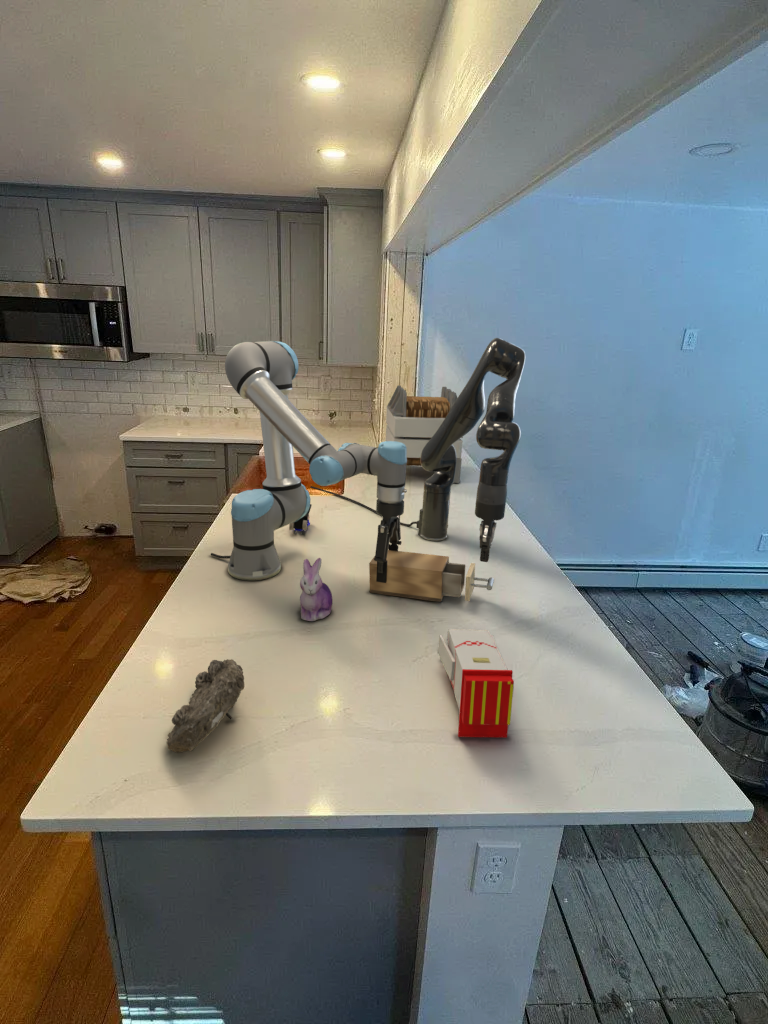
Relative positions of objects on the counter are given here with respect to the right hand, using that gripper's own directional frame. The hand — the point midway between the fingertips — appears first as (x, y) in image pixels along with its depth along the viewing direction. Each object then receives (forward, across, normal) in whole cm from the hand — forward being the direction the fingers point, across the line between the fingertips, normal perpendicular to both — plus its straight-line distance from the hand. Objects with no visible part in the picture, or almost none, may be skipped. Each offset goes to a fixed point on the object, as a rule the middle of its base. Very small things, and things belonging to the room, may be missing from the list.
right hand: (484, 560), depth 151 cm
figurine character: (+13, +30, +67) cm, 75 cm away
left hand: (+9, 0, +26) cm, 28 cm away
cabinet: (+12, 0, +20) cm, 23 cm away
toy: (+13, -39, -3) cm, 41 cm away
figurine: (+13, -21, +39) cm, 46 cm away
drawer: (+11, 0, +9) cm, 14 cm away
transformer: (+13, +120, +46) cm, 129 cm away
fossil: (+13, -64, +42) cm, 78 cm away
